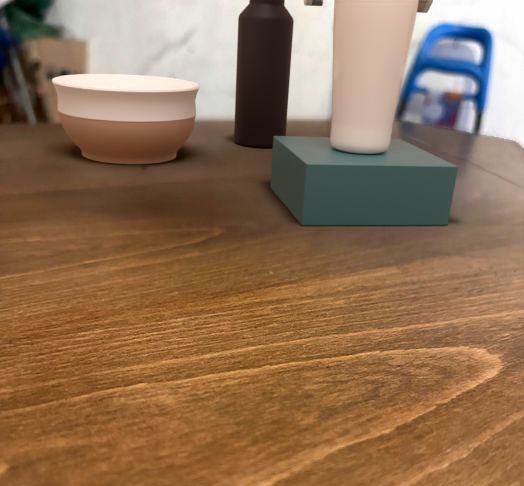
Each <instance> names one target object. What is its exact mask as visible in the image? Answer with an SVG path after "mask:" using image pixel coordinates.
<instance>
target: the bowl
mask: <svg viewBox="0 0 524 486" xmlns="http://www.w3.org/2000/svg"><path fill="white" fill-rule="evenodd" d="M51 83H52V85H53V87H54V89H55V92H56V95H57V112H58V116H59V120H60V124H61V126H62V128H63V129H64V131H65V133H66V135H67V136H68V137H69V139H70V140H71V141H72V142H73V143H74V144H75V145H76V146H77V147H78V148H79V149H80V151H81V156H82V157H84V158H86V159H89V160H91V161H95V162H101V163H108V164H117V165H119V164H120V165H147V164H148V165H151V164H159V163H165V162H168V161H172V160H174V159H175V158H177V153H178V151H179V150H180V149H181V148H182V147H183V146H184V145H185V143H186V142H187V141H188V139H189V138H190V136H191V134H192V132H193V130H194V128H195V122H196V117H197V107H196V99H197V94H198V92H199V91H200V88H201V87H200V84H199V83H197V82H195V81H191V80H188V79H183V78H176V77H167V76H157V75H146V74H145V75H144V74H143V75H142V74H126V73H125V74H124V73H79V74H77V73H76V74H66V75H59V76H55V77H53V78H52V79H51Z"/></svg>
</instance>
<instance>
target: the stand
mask: <svg viewBox="0 0 524 486" xmlns="http://www.w3.org/2000/svg"><path fill="white" fill-rule="evenodd" d="M458 171H459V166H458V165H455V164H453V163H451V162H449V161H447V160H445V159H443V158H441V157H439V156H436V155H435V154H432V153H430V152H428V151H427V150H424V149H422V148H419V147H418V146H416V145H413V144H412V143H409V142H407V141H405V140H403V139H402V138H391V141H390V146H389V148H388V149H387V150H386V151H385V152H383V153H379V154H356V153H348V152H343V151H340V150H337V149H335V148H333V147H332V146H331V144H330V136H297V135H295V136H292V135H286V136H273V148H272V154H271V172H270V185H269V186H270V189H271V191H273V193H274V194H275V195H276V197H277V198H278V199H279V200H280V201H281V202H282V204H283V205H284V206H285V207H286V209H288V211H289V212H290V213H291V214H292V216H293V217H294V218H295V219H296V220H297V222H298V223H299V224H300V225H301V226H448V225H449V220H450V219H449V218H450V214H451V208H452V203H453V197H454V192H455V186H456V181H457V176H458Z"/></svg>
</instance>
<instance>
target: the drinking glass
mask: <svg viewBox="0 0 524 486" xmlns="http://www.w3.org/2000/svg"><path fill="white" fill-rule="evenodd" d="M418 2H419V0H334V3H333V24H332V25H333V26H332V83H331V84H332V87H331V88H332V89H331V122H330V133H329V137H330V144H331V146H332V147H333V148H335V149H337V150H340V151H343V152H348V153H356V154H379V153H383V152H385V151H386V150H387V149H388V148H389V146H390V141H391V139H392V132H393V127H394V122H395V116H396V111H397V107H398V102H399V98H400V93H401V88H402V83H403V79H404V74H405V70H406V67H407V66H406V65H407V62H408V61H407V60H408V56H409V52H410V48H411V43H412V42H411V41H412V38H413V35H414V34H413V33H414V29H415V25H416V19H417V14H418V12H417V9H418Z"/></svg>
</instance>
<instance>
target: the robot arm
mask: <svg viewBox="0 0 524 486" xmlns="http://www.w3.org/2000/svg"><path fill="white" fill-rule="evenodd" d="M433 3H434V0H419V2H418V9H417V13H421V14H426V13H428V12H429V10H430V8H431V7H432V4H433ZM303 5H304V6H306V7H307V6H309V7H322V6H323V5H324V0H303Z"/></svg>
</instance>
